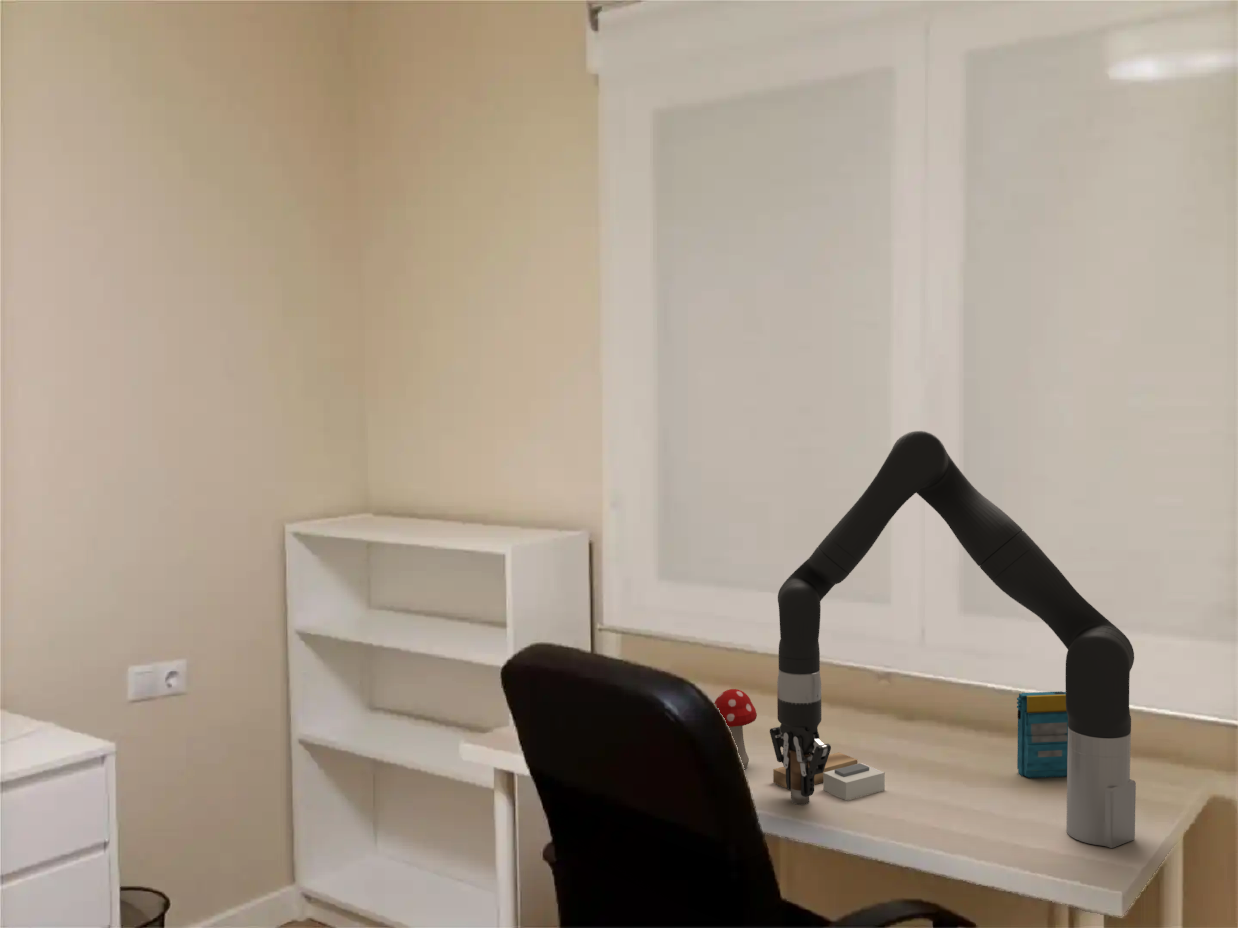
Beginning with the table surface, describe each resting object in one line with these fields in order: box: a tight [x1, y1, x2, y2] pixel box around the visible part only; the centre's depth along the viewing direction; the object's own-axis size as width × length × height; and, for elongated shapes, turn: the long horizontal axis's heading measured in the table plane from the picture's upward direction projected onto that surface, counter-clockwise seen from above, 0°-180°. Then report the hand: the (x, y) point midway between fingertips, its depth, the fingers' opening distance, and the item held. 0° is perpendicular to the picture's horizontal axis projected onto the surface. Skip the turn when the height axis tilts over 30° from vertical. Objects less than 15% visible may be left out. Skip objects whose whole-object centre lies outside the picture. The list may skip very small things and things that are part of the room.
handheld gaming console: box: [1016, 690, 1068, 779], centre depth 208 cm, size 10×4×15 cm, turn 94°
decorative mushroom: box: [713, 688, 758, 770], centre depth 215 cm, size 10×9×15 cm
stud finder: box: [822, 762, 886, 801], centre depth 203 cm, size 6×9×4 cm, turn 121°
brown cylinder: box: [790, 750, 810, 806], centre depth 198 cm, size 3×3×9 cm
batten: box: [772, 752, 858, 790], centre depth 210 cm, size 5×16×2 cm, turn 122°
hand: (799, 791), depth 199 cm, fingers closed on brown cylinder, 3 cm apart
